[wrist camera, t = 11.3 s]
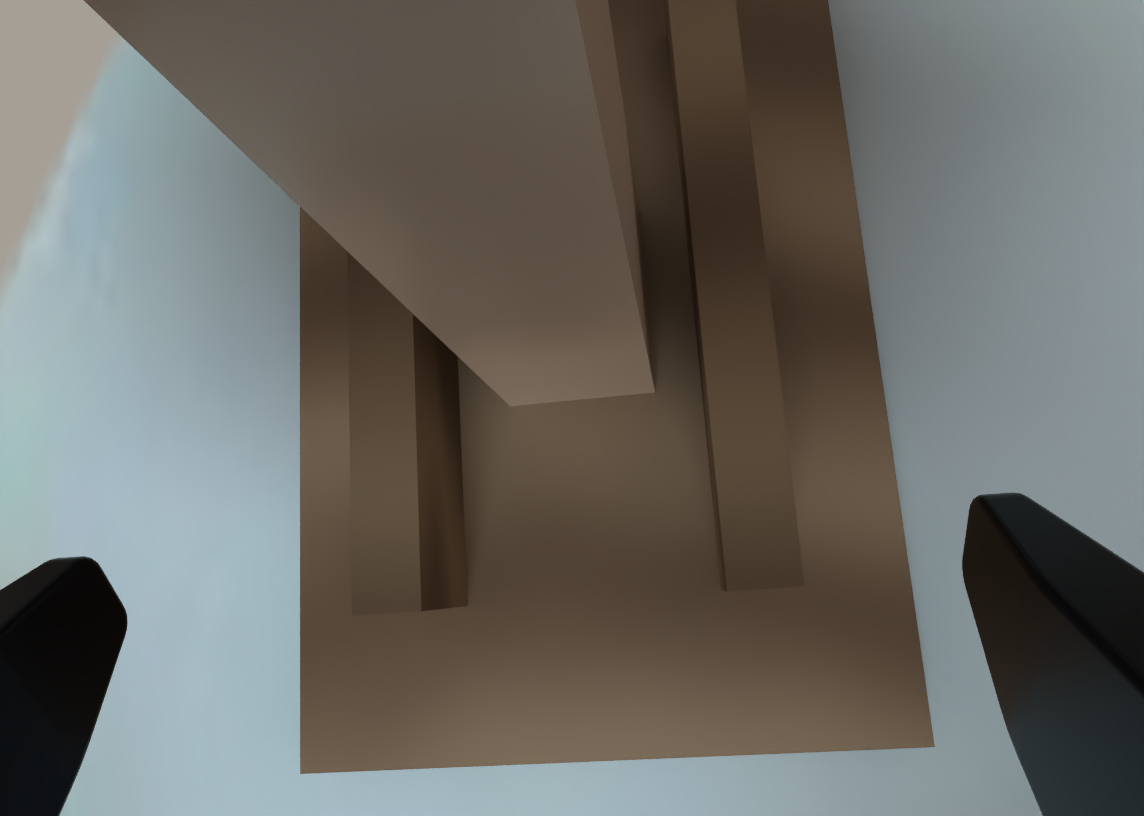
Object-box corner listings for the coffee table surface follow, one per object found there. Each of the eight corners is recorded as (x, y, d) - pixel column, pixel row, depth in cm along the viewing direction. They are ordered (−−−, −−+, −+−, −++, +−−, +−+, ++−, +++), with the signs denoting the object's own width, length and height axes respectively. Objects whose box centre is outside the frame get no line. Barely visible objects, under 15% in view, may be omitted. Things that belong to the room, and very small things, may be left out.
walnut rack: (920, 737, 16) (990, 785, 13) (321, 763, 18) (219, 813, 14) (806, -75, 20) (833, -232, 16) (317, 1, 22) (235, -126, 18)
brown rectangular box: (638, 208, 18) (517, -618, 6) (655, 392, 17) (555, -100, 5) (500, 225, 19) (96, -517, 6) (510, 406, 18) (64, -17, 5)
